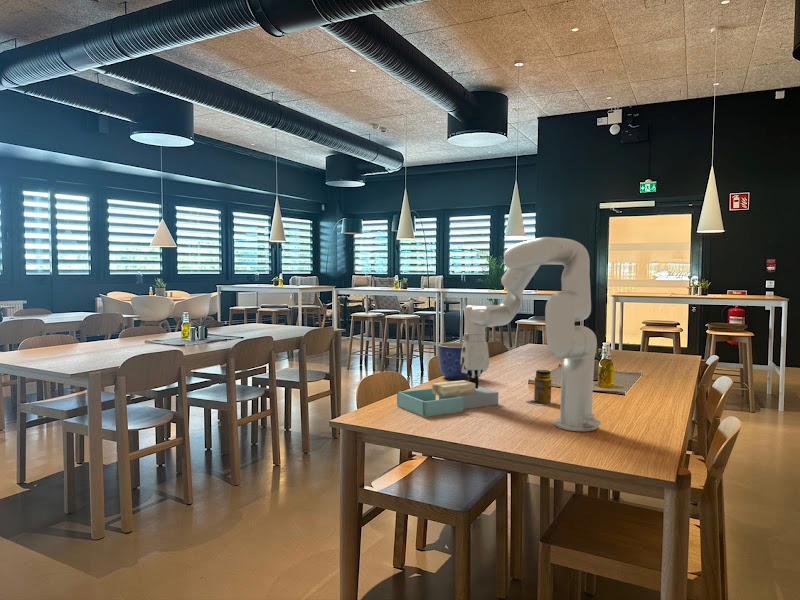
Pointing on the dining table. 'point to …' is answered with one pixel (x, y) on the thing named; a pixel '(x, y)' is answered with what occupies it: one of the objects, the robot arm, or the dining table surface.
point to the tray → (428, 403)
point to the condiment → (542, 388)
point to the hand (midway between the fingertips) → (473, 387)
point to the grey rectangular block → (477, 398)
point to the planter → (451, 361)
